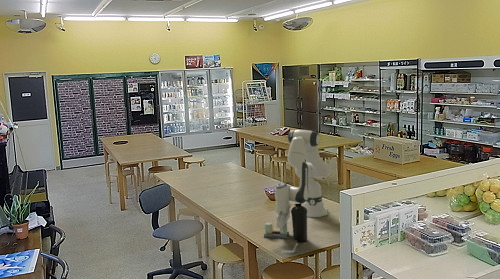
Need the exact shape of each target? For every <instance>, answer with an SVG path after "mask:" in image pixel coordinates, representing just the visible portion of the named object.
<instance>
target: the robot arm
mask: <svg viewBox="0 0 500 279" xmlns="http://www.w3.org/2000/svg"><path fill="white" fill-rule="evenodd" d="M287 141H288V143H289V147H288V151H287V159H286V160H287V162H288V164H289V166H291V167H292V168H294V171H295V172H294V173H295V175H296V176H297V177H298V178H299V186H295V185H289V184H287V183H286V182H280V183H278V184H276V186H275V189H274V199H275V213H276V214H277V215H276V229H279V231H280V232H281V233H283V232H284V229H283V226H284V225H285V223H286V224H287V225H288V221H289V219H290V217H291V216H290V215H291V209H292V208H291V204H290V202H294V203H297V204H303V206H304V207H305V208H306V209H307V218H320V217H324V216H327V215H328V211H327V210H328V209H327V207H325V204H324V201H323V195H322V186H321V184H320V183H319V182H317V181H316V180H315V179H316V178H318V179H319V178H320V179H321V178H328V177H329V176H330V175H331V173H332V172H331V171H332V169H331V165H329V163H327V162H325V161H324V160H323V158H322V157H321V155H320V152H319V144H320V141H321V135H320V134H319V132H318V131H316V130H309V129H291V130H290V131H289V132H288V135H287ZM306 161H307V162H306ZM313 178H315V179H313Z"/></svg>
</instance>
